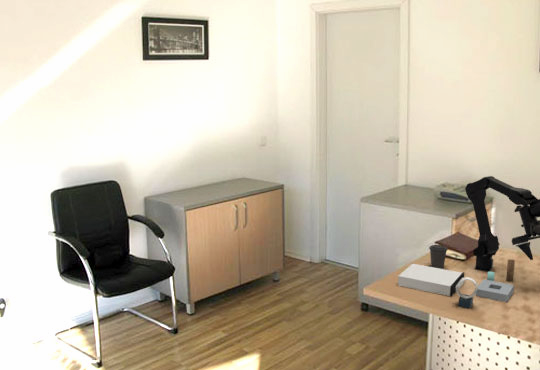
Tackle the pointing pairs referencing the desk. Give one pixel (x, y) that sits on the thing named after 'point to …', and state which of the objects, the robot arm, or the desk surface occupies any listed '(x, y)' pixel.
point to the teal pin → (491, 276)
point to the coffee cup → (438, 256)
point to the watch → (464, 299)
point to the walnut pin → (510, 270)
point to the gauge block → (495, 290)
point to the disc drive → (430, 279)
